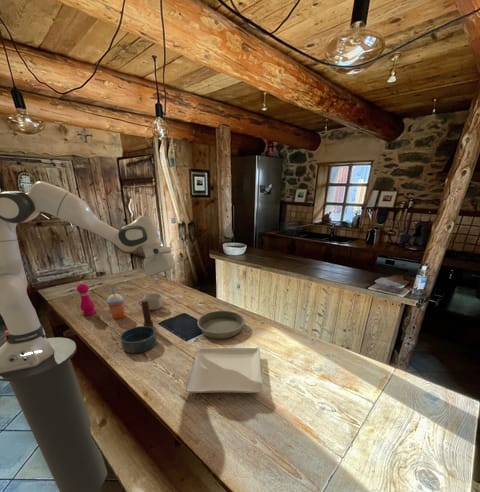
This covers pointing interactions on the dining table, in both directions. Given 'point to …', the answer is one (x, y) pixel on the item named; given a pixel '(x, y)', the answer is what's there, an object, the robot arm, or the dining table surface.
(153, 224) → the robot arm
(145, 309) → the dark brown spice grinder
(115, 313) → the cup with straw
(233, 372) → the square plate
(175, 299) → the dining table surface
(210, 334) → the cake pan
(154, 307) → the teacup
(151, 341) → the bowl
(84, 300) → the pepper mill
